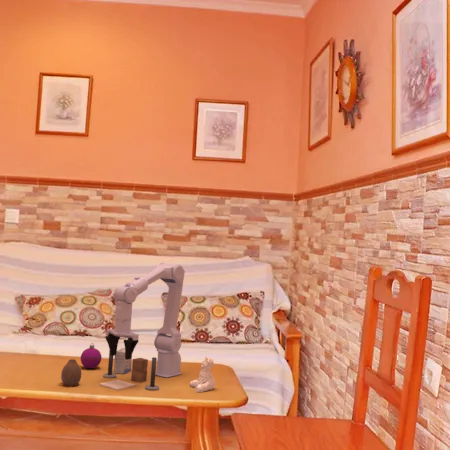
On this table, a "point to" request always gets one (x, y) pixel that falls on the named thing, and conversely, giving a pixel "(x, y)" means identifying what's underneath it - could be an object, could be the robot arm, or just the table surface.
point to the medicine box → (121, 362)
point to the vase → (71, 373)
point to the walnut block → (139, 370)
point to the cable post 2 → (152, 377)
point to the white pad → (117, 384)
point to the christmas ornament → (91, 357)
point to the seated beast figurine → (204, 377)
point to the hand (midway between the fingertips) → (120, 357)
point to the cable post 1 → (110, 368)
